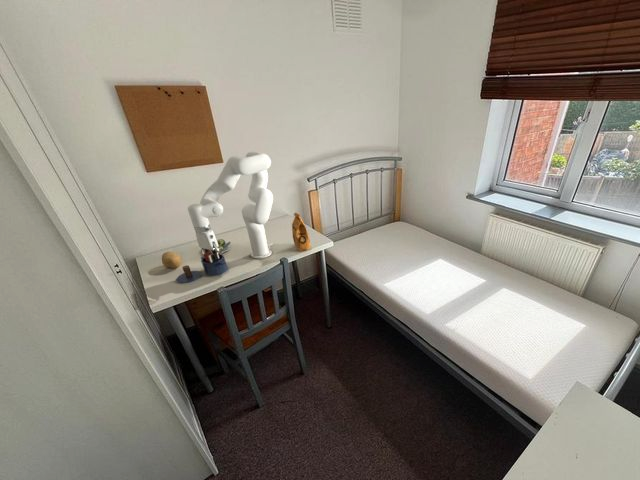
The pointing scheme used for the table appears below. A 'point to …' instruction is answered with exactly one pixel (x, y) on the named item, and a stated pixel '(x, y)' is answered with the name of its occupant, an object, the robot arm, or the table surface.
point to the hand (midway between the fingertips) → (212, 259)
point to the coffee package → (300, 234)
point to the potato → (171, 259)
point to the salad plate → (222, 246)
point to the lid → (188, 275)
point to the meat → (209, 256)
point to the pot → (214, 266)
